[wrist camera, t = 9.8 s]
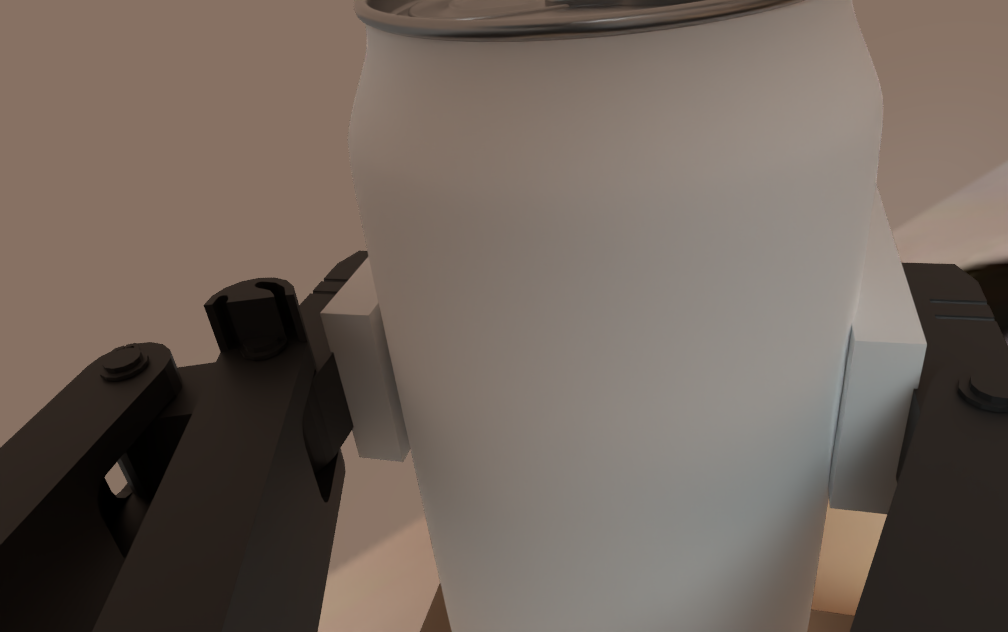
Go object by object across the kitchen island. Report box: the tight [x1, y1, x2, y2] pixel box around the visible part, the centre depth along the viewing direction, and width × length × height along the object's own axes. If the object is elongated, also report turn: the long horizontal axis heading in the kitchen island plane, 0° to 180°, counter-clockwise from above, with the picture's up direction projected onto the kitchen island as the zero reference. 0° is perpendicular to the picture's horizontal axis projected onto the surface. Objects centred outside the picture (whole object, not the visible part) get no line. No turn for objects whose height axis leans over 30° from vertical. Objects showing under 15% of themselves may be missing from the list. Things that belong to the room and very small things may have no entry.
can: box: [348, 0, 883, 632], centre depth 12 cm, size 6×6×12 cm
